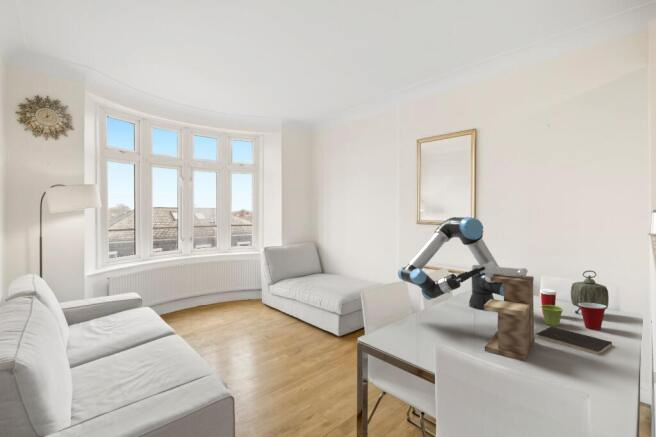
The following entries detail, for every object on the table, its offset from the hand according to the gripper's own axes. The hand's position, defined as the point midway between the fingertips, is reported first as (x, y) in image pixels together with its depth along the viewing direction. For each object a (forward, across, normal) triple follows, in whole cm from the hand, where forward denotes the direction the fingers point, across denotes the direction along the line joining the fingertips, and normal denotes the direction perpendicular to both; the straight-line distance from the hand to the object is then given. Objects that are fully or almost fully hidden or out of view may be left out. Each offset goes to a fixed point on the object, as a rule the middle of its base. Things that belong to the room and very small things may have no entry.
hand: (492, 264), depth 145 cm
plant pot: (-1, -36, -40) cm, 54 cm away
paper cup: (-4, -52, -39) cm, 65 cm away
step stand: (-11, +6, -34) cm, 36 cm away
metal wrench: (0, 0, -5) cm, 5 cm away
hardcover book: (+7, -17, -45) cm, 49 cm away
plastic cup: (+12, -41, -48) cm, 65 cm away
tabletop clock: (+11, -64, -48) cm, 81 cm away
